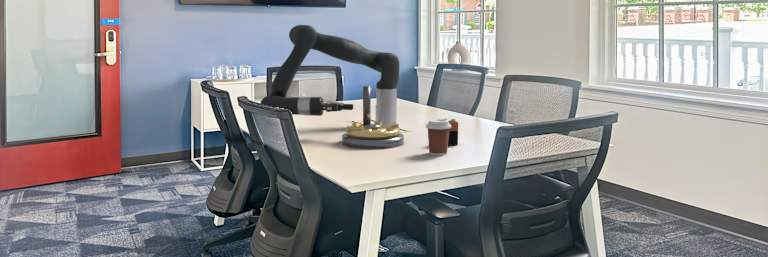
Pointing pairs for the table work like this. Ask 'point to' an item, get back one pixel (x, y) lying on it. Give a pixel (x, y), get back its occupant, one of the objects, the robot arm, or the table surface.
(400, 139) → the cap housing
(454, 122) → the battery
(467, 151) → the table surface
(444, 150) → the coffee cup
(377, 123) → the gold base with rod
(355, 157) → the table surface
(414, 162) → the table surface
